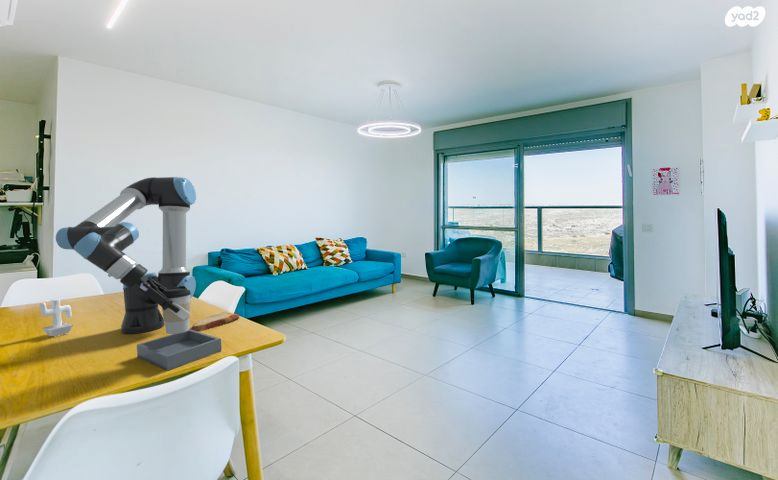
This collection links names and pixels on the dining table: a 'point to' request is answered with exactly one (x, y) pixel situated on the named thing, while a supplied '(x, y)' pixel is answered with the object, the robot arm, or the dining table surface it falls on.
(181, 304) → the coffee cup
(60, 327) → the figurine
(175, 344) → the tray
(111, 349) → the dining table surface
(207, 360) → the dining table surface
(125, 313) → the robot arm
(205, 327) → the slice of bread
